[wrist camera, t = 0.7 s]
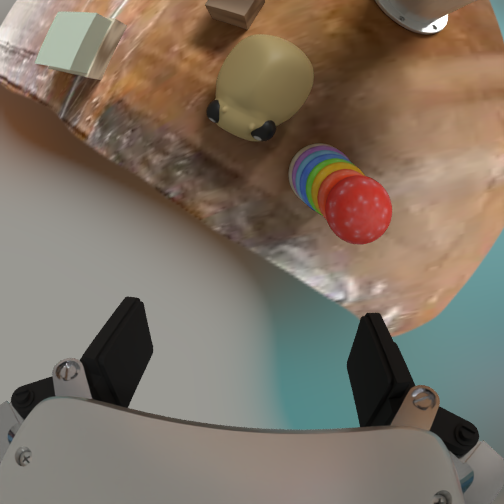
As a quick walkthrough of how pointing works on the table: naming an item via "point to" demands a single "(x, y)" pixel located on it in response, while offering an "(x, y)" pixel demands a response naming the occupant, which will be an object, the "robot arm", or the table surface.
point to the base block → (102, 52)
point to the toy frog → (260, 87)
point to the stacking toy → (340, 193)
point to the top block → (73, 40)
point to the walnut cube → (235, 11)
